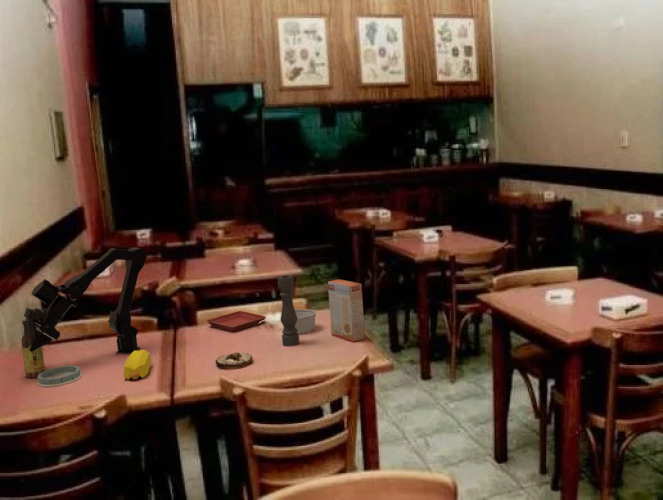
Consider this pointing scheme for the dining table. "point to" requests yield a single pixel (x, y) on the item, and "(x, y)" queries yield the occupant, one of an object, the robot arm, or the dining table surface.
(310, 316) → the ramekin
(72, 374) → the ring collar
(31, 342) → the sauce bottle
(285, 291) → the candle holder
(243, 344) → the dining table surface
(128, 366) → the yellow faceted rock
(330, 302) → the cracker box
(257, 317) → the plant saucer
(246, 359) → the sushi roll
